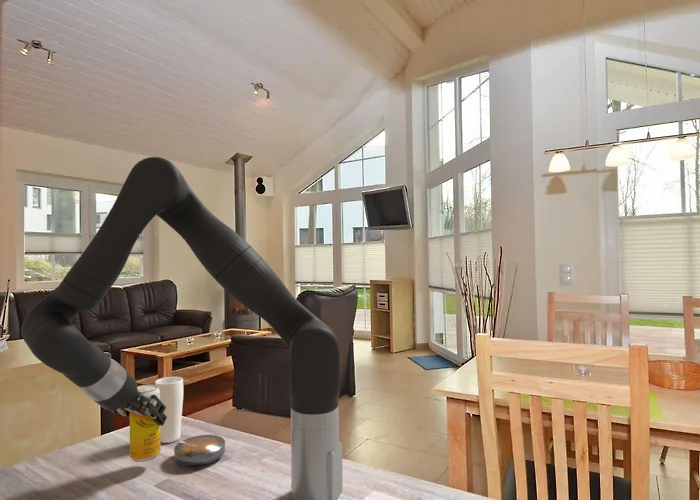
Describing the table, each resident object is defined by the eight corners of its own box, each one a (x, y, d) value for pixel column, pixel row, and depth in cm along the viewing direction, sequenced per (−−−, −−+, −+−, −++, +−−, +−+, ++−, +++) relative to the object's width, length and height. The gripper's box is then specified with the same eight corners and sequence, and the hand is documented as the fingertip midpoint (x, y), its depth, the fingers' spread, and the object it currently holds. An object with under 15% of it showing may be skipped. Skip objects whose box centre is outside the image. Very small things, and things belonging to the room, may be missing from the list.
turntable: (234, 446, 103) (234, 437, 103) (206, 468, 92) (206, 458, 92) (194, 440, 106) (194, 432, 106) (163, 461, 96) (163, 452, 96)
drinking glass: (189, 437, 110) (189, 378, 110) (165, 447, 105) (165, 385, 105) (172, 431, 114) (172, 374, 114) (149, 441, 108) (148, 381, 108)
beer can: (148, 464, 91) (148, 393, 91) (123, 462, 92) (122, 391, 93) (166, 451, 97) (165, 384, 97) (142, 449, 98) (141, 383, 98)
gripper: (146, 367, 86) (186, 406, 97) (89, 363, 90) (133, 401, 101) (126, 403, 81) (170, 440, 92) (66, 397, 85) (116, 433, 96)
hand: (151, 420), depth 97 cm, fingers closed on beer can, 6 cm apart
